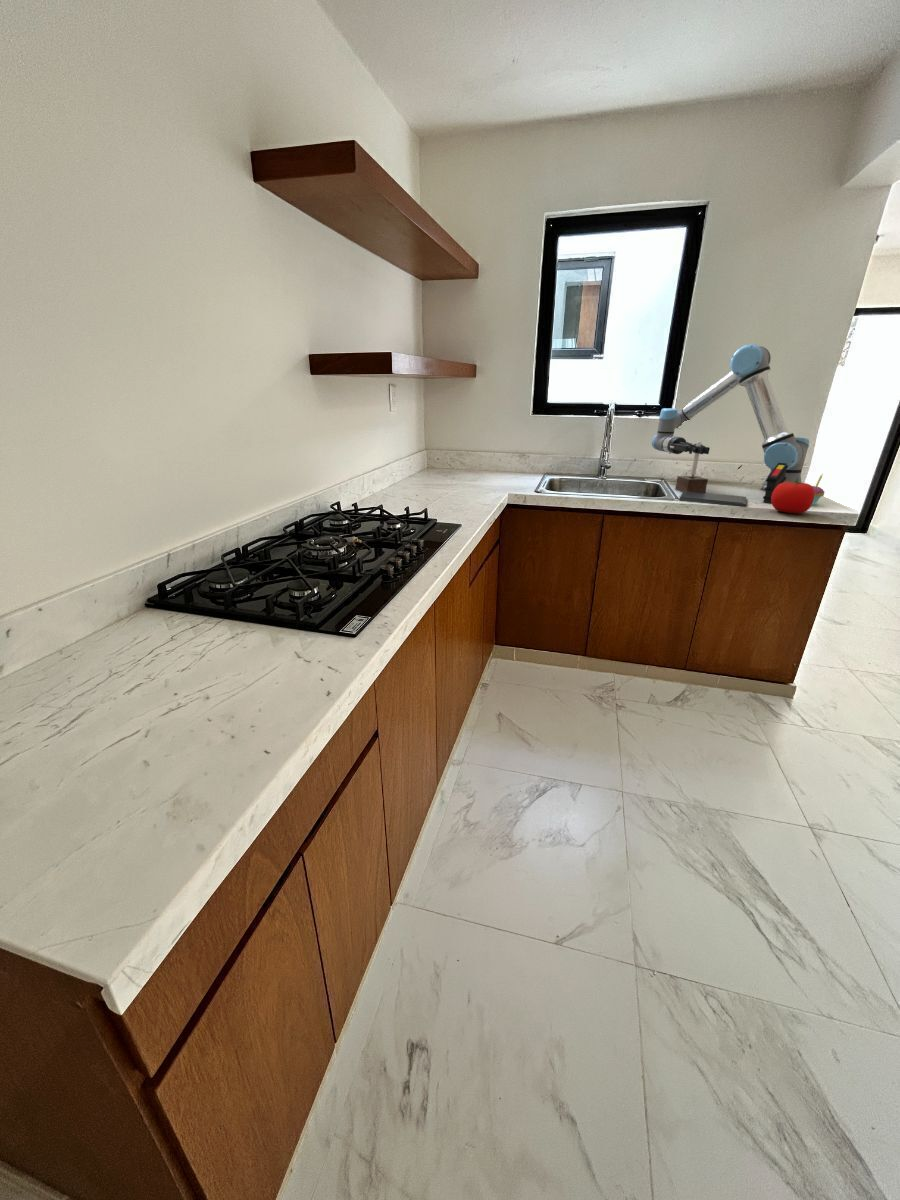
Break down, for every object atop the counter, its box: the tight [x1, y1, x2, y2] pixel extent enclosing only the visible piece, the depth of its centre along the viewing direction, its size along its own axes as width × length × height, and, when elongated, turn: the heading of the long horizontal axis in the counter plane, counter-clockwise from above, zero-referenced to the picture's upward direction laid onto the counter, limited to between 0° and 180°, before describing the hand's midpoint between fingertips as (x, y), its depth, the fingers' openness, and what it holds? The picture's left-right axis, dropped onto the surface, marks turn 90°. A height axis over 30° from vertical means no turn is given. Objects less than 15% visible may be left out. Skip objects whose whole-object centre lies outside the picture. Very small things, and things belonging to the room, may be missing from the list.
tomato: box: [771, 481, 814, 514], centre depth 183 cm, size 13×14×12 cm
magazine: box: [762, 463, 788, 504], centre depth 202 cm, size 4×13×15 cm, turn 133°
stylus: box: [690, 441, 702, 477], centre depth 219 cm, size 2×2×15 cm
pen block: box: [674, 475, 708, 493], centre depth 223 cm, size 9×9×6 cm
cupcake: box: [811, 473, 825, 506], centre depth 198 cm, size 9×8×12 cm
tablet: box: [679, 491, 747, 507], centre depth 207 cm, size 24×17×1 cm
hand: (705, 450), depth 212 cm, fingers closed on stylus, 2 cm apart
